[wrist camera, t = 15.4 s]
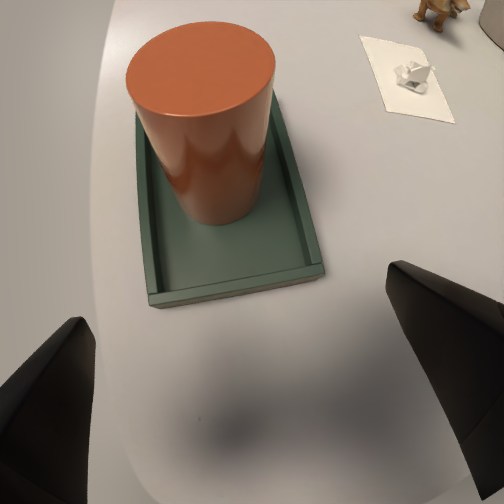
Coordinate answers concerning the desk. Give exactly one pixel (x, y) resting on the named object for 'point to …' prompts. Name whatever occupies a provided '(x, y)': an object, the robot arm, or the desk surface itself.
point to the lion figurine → (441, 10)
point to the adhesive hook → (406, 80)
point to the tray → (226, 232)
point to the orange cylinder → (206, 114)
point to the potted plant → (493, 20)
